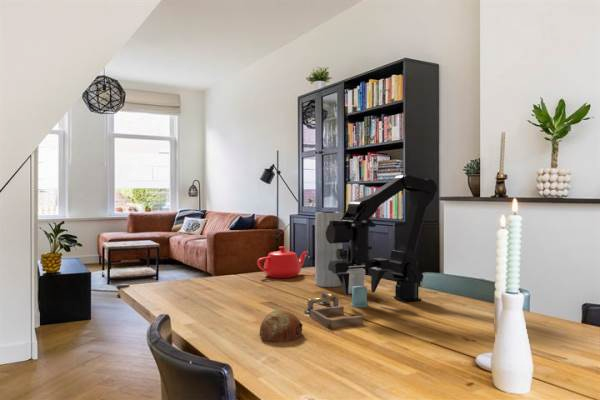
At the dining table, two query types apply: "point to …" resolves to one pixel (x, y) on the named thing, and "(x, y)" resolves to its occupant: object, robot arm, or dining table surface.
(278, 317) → the bread roll
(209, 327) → the dining table surface
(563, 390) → the dining table surface
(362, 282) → the cup
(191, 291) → the dining table surface
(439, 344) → the dining table surface
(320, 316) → the dock
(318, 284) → the vase
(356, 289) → the spool
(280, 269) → the teapot
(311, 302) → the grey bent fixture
